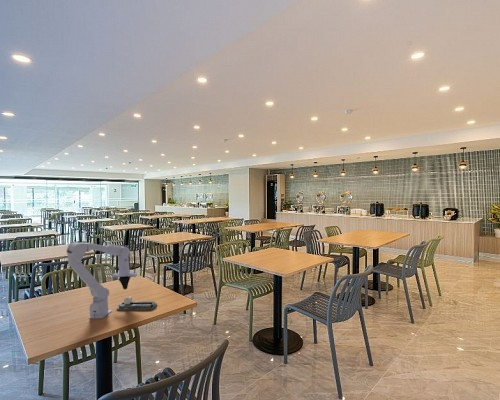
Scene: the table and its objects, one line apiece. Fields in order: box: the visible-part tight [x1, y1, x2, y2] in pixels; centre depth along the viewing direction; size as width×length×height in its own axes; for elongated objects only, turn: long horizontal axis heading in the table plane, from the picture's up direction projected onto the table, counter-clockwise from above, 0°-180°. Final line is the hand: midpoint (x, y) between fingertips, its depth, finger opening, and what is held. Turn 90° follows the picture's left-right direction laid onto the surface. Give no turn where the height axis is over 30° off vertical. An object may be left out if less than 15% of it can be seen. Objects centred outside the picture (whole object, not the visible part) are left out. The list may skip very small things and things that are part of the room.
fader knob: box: [123, 296, 133, 305], centre depth 165 cm, size 4×3×5 cm
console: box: [116, 300, 158, 312], centre depth 165 cm, size 8×21×3 cm, turn 85°
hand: (125, 288), depth 169 cm, fingers closed
